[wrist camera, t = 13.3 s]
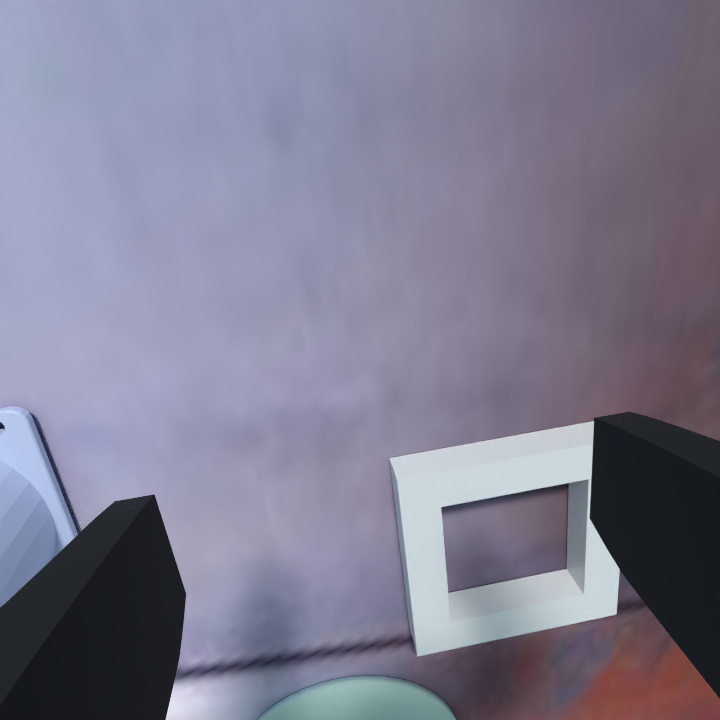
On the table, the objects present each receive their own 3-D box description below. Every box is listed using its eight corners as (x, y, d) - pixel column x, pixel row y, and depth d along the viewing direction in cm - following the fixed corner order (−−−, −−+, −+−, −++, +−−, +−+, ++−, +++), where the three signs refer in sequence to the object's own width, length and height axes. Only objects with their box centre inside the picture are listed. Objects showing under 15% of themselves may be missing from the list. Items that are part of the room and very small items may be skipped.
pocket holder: (409, 627, 24) (417, 656, 23) (389, 458, 21) (396, 480, 19) (597, 588, 25) (616, 614, 23) (606, 418, 22) (628, 437, 20)
